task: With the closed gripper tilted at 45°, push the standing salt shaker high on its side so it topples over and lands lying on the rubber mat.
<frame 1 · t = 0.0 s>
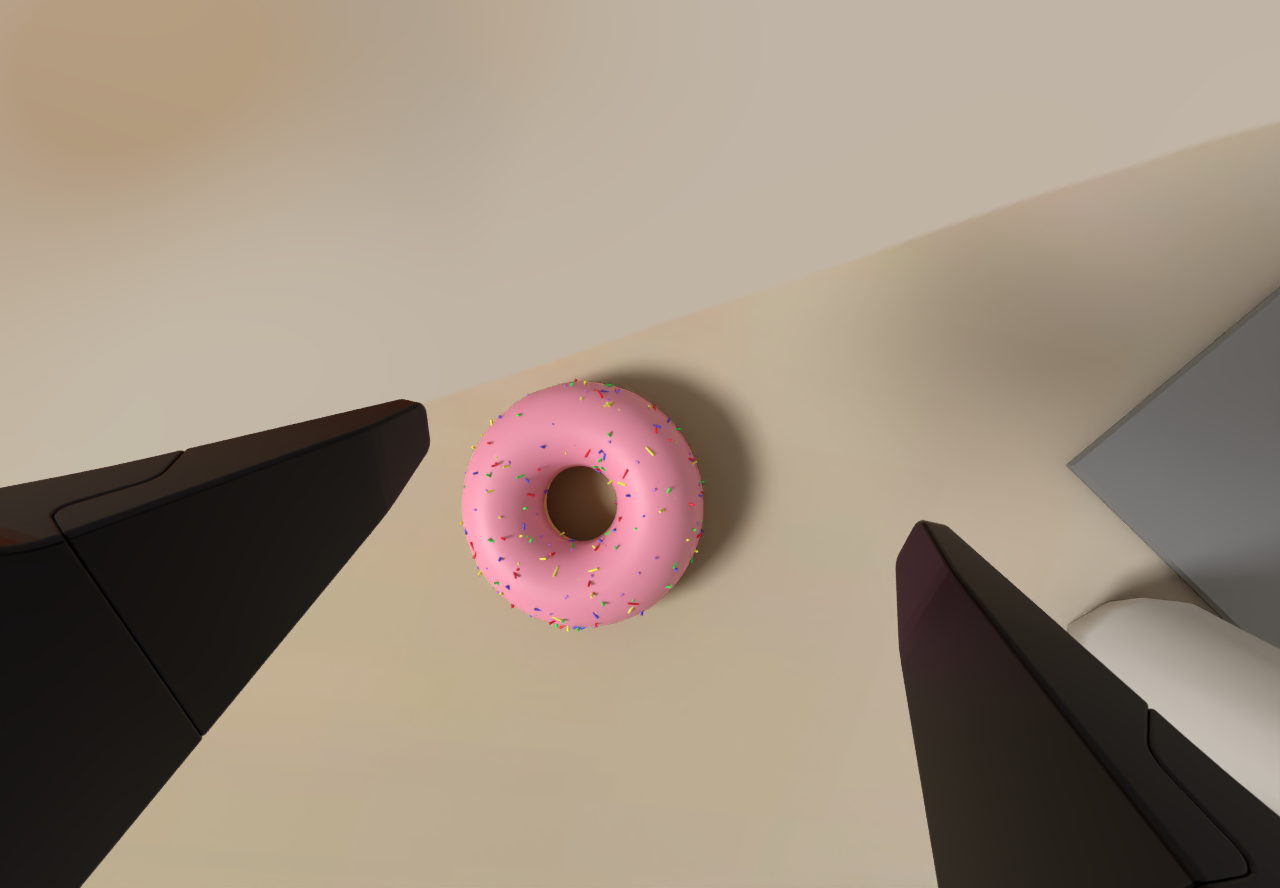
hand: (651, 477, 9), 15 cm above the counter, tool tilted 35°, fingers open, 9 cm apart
salt shaker: (1112, 651, 22), on the counter
doughnut: (592, 498, 25), on the counter
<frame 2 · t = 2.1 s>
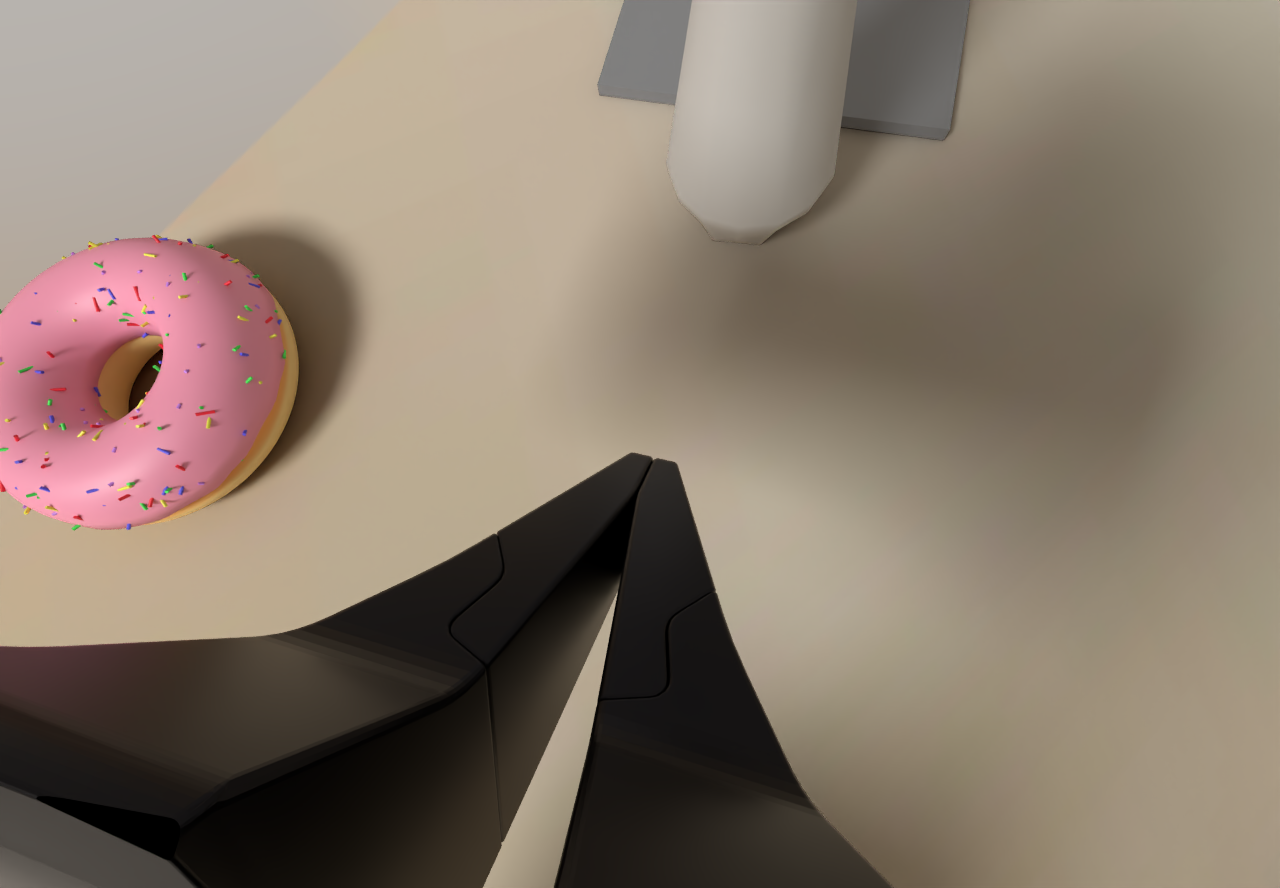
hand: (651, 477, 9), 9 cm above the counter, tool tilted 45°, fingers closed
salt shaker: (742, 204, 20), on the counter
doughnut: (199, 397, 21), on the counter
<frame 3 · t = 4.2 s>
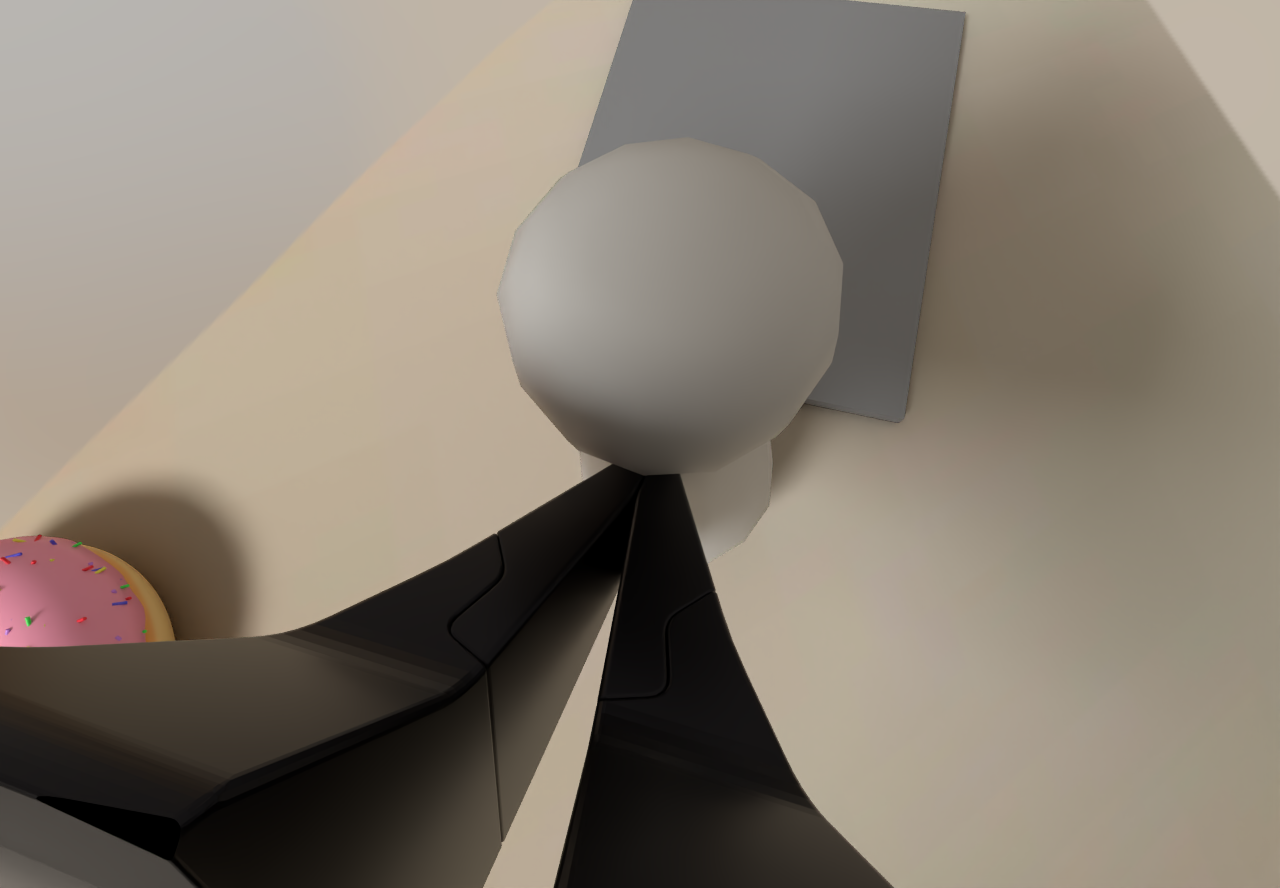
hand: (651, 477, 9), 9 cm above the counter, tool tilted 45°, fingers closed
salt shaker: (677, 485, 18), on the counter, touching gripper
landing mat: (751, 177, 21), on the counter
doughnut: (71, 690, 19), on the counter
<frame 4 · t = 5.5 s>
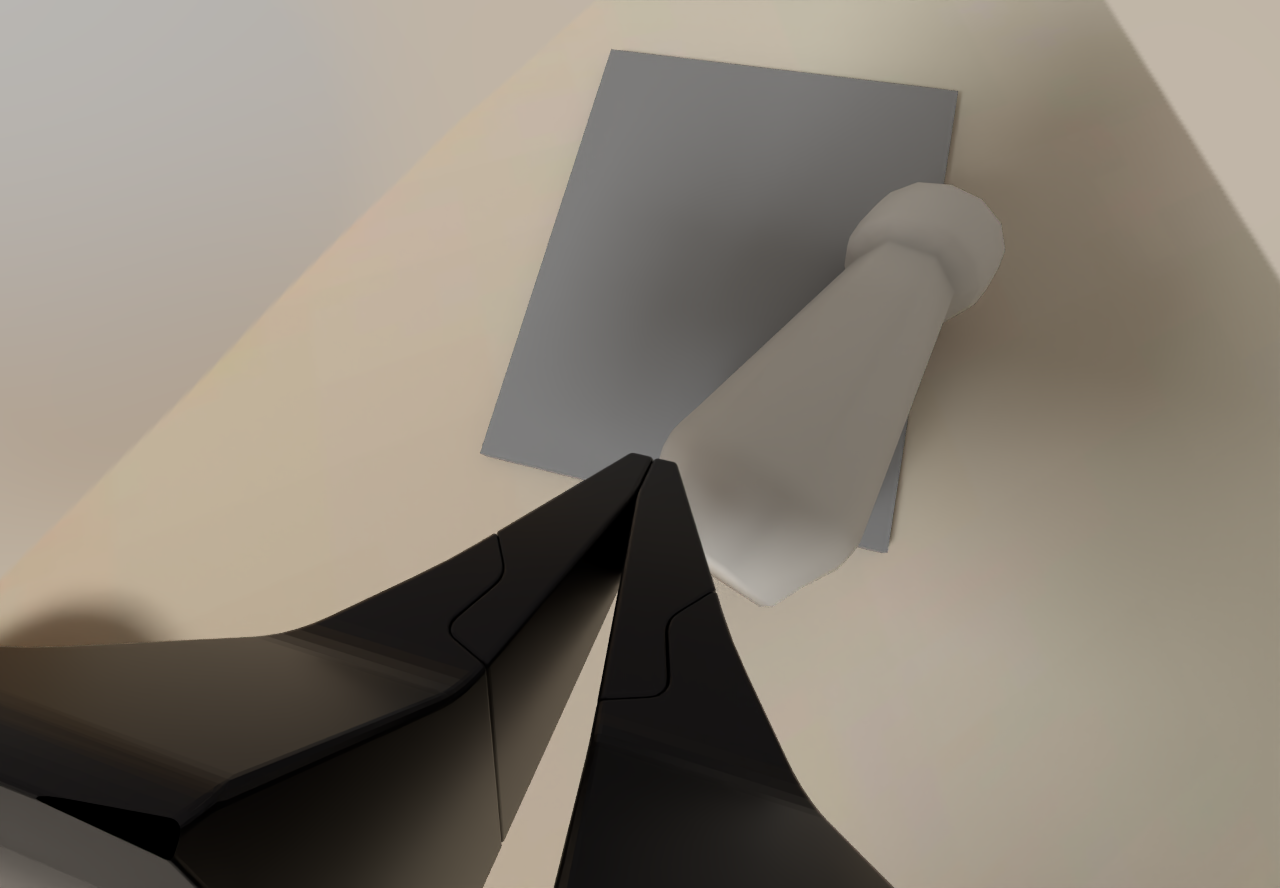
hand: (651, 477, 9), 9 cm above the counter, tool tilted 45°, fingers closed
salt shaker: (701, 568, 14), point 4 cm above the counter, touching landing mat
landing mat: (728, 271, 19), on the counter
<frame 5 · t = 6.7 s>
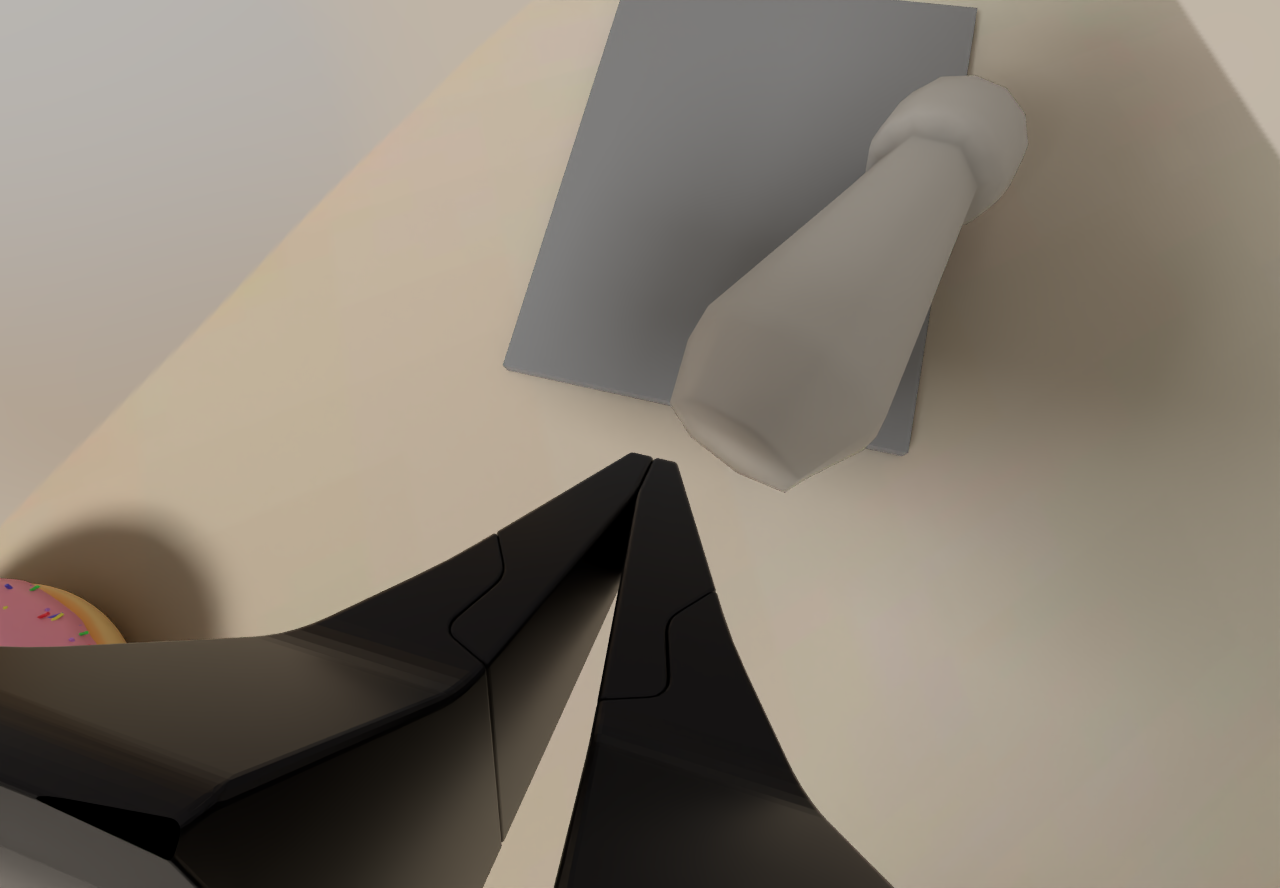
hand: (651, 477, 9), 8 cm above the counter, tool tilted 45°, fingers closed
salt shaker: (728, 451, 14), point 4 cm above the counter, touching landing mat
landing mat: (747, 189, 19), on the counter
doughnut: (36, 735, 18), on the counter
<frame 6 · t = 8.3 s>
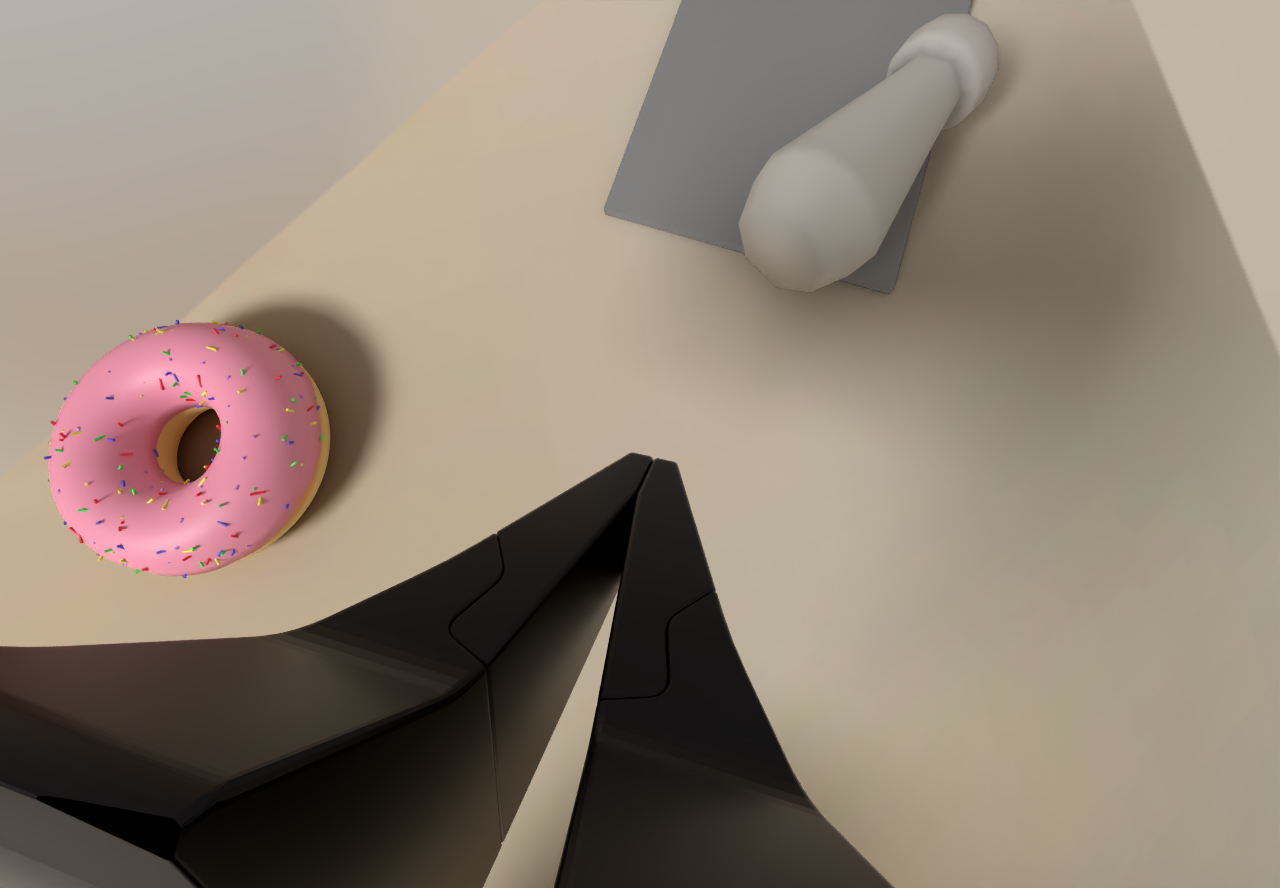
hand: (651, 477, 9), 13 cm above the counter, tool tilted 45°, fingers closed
salt shaker: (777, 256, 20), point 4 cm above the counter, touching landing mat
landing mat: (794, 95, 26), on the counter
doughnut: (238, 452, 24), on the counter
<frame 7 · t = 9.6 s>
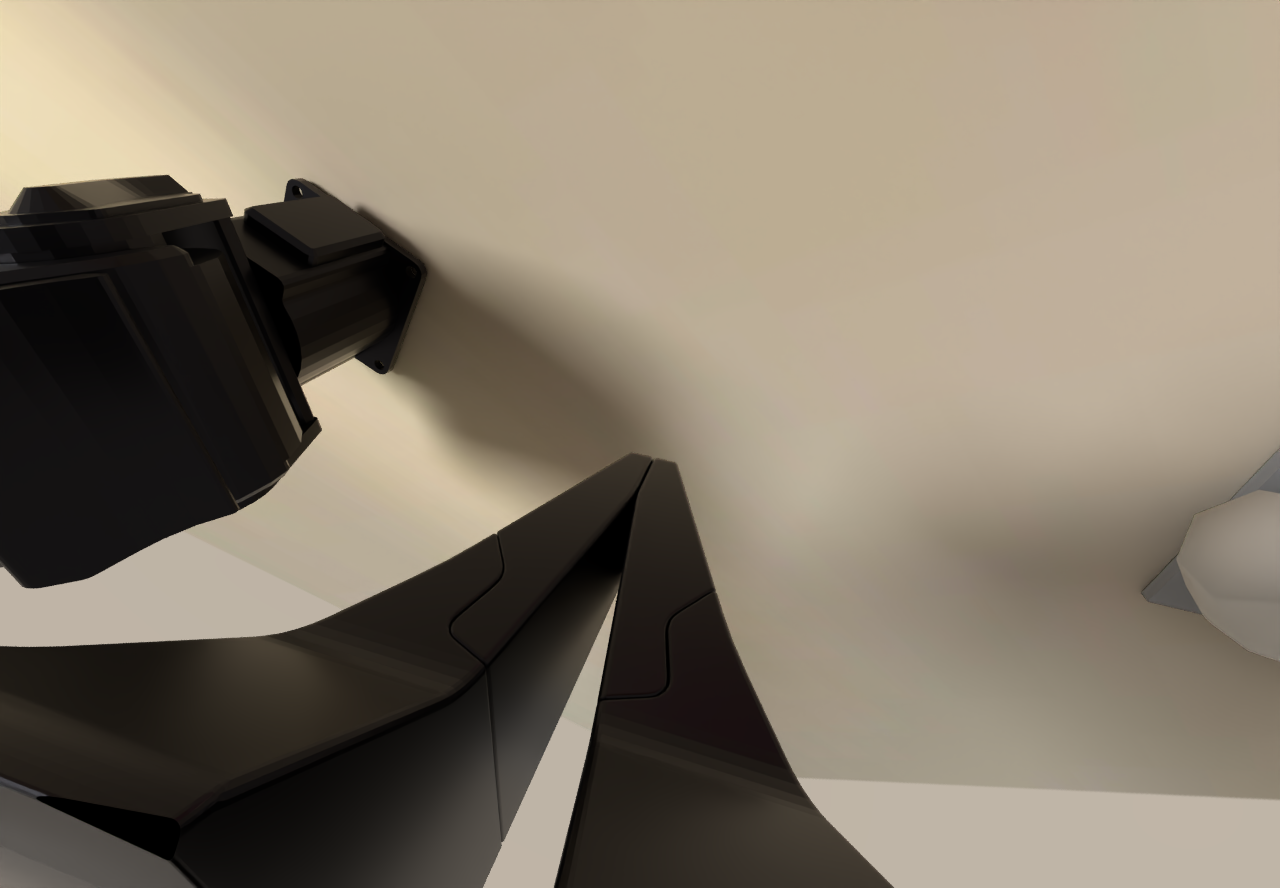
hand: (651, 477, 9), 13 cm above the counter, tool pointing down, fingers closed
salt shaker: (1251, 544, 17), point 4 cm above the counter, touching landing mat
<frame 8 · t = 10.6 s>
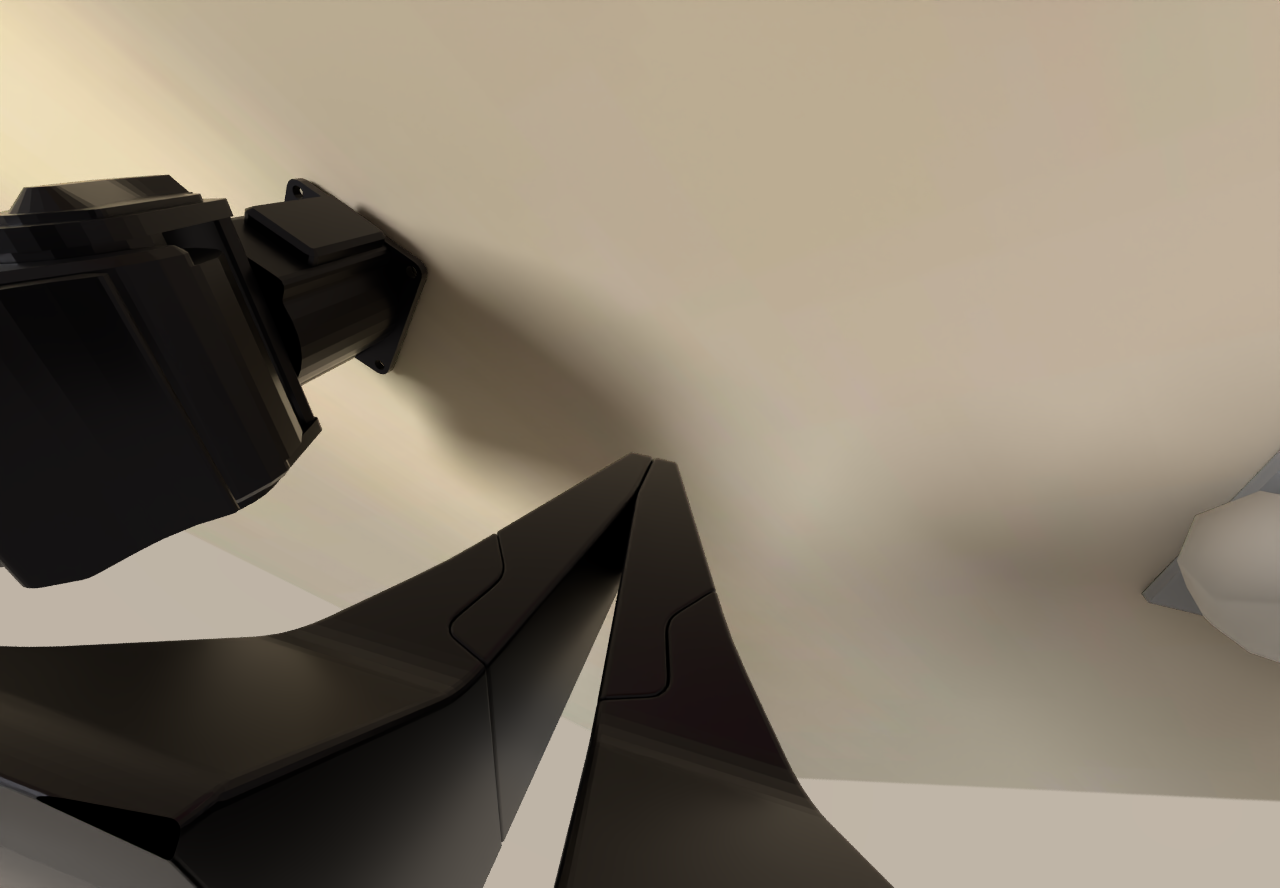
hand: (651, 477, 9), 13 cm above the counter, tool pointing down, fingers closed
salt shaker: (1251, 545, 17), point 4 cm above the counter, touching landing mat
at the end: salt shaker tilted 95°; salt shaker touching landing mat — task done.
